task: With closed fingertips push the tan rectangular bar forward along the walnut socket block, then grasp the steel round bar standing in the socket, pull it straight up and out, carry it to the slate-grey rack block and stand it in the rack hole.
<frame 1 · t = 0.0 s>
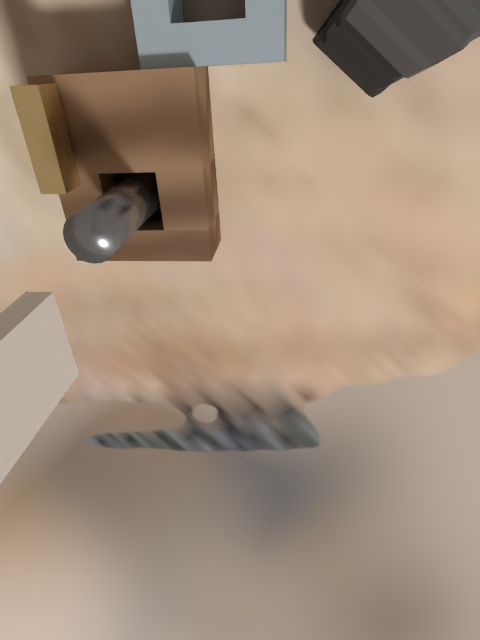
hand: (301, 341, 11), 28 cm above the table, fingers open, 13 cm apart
socket block: (147, 163, 37), on the table
steel round bar: (151, 186, 38), resting in socket block
tan rectangular bar: (48, 140, 30), point 7 cm above the table, slide at 0.0 cm
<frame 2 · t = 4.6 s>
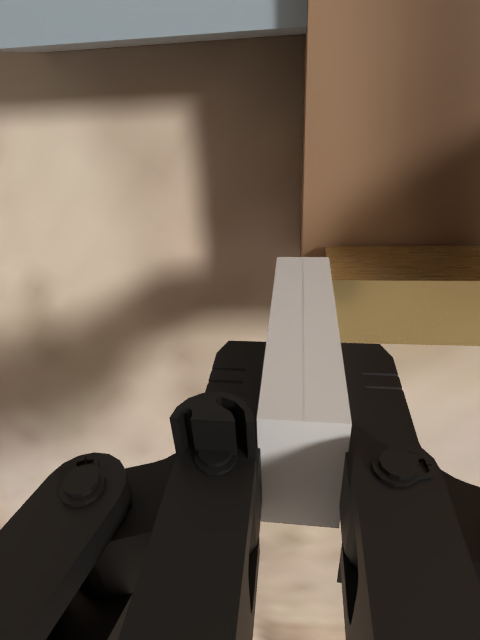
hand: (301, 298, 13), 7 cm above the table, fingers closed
tan rectangular bar: (447, 293, 12), point 7 cm above the table, slide at 0.2 cm, touching gripper
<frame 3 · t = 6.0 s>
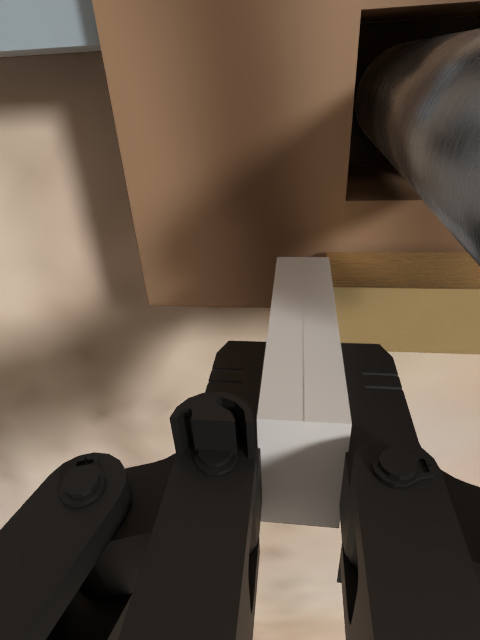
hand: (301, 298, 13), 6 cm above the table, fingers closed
socket block: (347, 100, 15), on the table
steel round bar: (403, 97, 15), resting in socket block
tan rectangular bar: (449, 300, 12), point 6 cm above the table, slide at 5.7 cm, touching gripper
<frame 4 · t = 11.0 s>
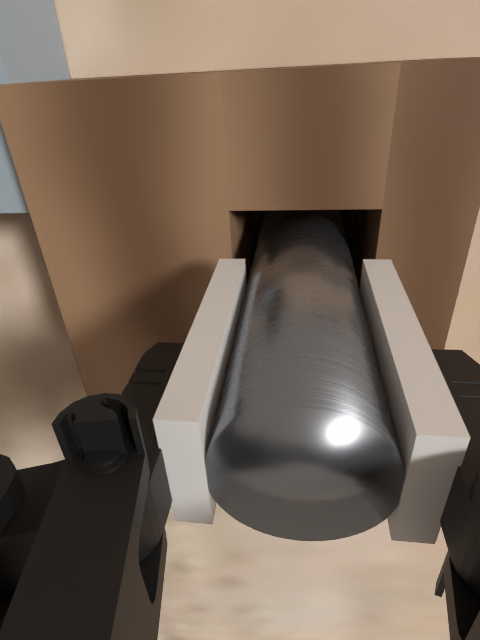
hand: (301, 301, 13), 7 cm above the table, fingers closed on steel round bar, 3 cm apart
socket block: (255, 228, 18), on the table
steel round bar: (301, 227, 18), resting in socket block, touching gripper
when the fingers open (8 cm above the table, at t = 16.0 s): steel round bar drops 2 cm, resting in rack.
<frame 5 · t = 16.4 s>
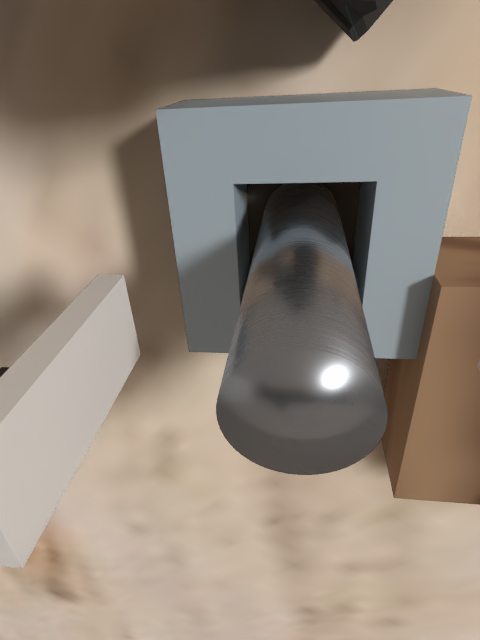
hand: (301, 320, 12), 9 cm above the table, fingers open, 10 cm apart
rack: (301, 216, 19), on the table
steel round bar: (300, 216, 19), resting in rack
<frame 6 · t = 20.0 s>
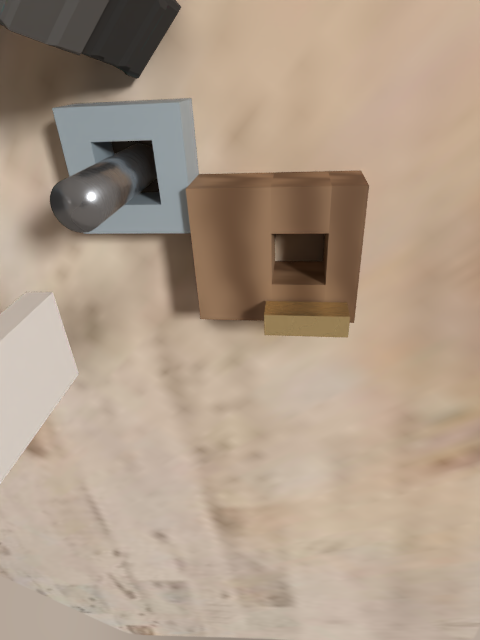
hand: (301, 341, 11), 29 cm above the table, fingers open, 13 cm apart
socket block: (277, 238, 39), on the table
rack: (142, 164, 37), on the table
steel round bar: (142, 163, 37), resting in rack
tan rectangular bar: (305, 318, 36), point 6 cm above the table, slide at 5.7 cm
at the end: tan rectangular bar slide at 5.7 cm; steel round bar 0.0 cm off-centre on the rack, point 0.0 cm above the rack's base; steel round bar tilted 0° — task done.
